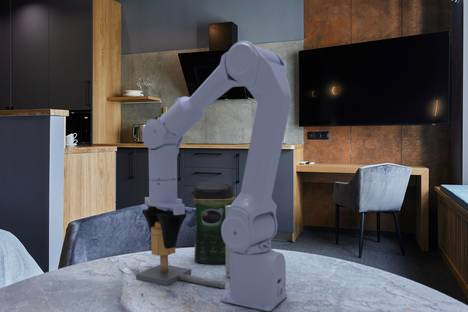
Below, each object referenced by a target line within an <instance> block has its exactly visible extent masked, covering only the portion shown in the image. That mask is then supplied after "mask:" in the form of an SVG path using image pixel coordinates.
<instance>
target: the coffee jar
mask: <svg viewBox="0 0 468 312" xmlns="http://www.w3.org/2000/svg"><path fill="white" fill-rule="evenodd" d="M193 190H194V192H193V200H192V201H193V204H194V207H195V212H196V213H195V214H196V215H195V216H196V218H195V220H196V221H195V223H196V224H195V225H196V227H195V238H194V252H193V253H194V255H193V256H194V260H195V261H196V262H197V263H203V264H214V265H215V264H217V265H218V264H226V244H225V243H224V241H223V238H222V234H221V227H222V223H223V221H224V220H225V206H228V205H231V204H232V203H233V201H234V200H235V193H234V187H233V183H232V182H228V181H206V182H205V181H203V182H198V183H196V184H195V186H194V188H193Z"/></svg>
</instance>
